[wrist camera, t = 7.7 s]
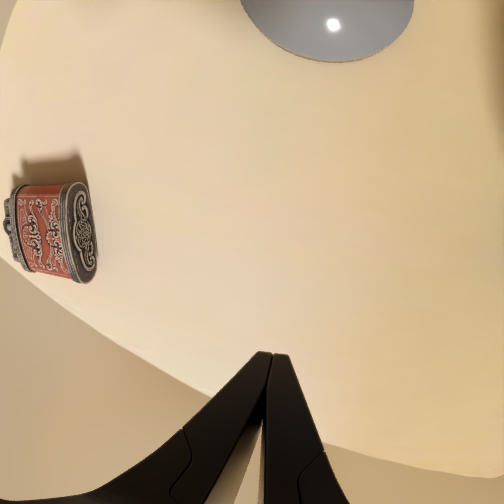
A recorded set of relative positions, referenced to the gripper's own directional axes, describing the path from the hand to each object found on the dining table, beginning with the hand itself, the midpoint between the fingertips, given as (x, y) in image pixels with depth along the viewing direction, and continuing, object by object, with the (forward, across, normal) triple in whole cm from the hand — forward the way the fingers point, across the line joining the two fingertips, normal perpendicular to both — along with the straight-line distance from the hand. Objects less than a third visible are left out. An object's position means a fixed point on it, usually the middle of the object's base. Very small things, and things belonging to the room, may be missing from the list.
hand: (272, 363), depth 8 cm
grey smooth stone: (+13, -1, -14) cm, 20 cm away
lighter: (+11, +16, +2) cm, 19 cm away
